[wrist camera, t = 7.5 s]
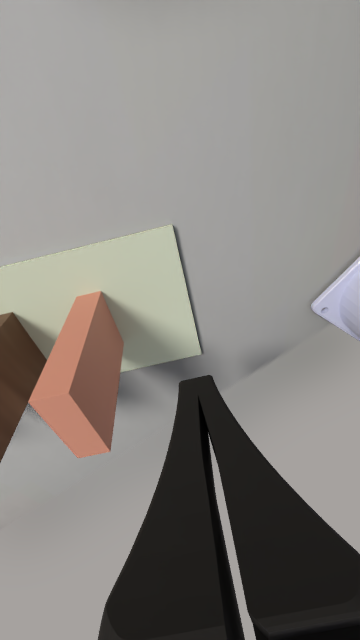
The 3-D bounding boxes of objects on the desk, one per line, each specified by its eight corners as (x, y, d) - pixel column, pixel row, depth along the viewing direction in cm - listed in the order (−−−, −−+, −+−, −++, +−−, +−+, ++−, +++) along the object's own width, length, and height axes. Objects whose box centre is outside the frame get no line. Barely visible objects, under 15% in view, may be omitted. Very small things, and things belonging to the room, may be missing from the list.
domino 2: (100, 290, 16) (68, 393, 10) (123, 342, 19) (110, 451, 12) (76, 296, 16) (28, 401, 10) (102, 347, 19) (77, 458, 12)
